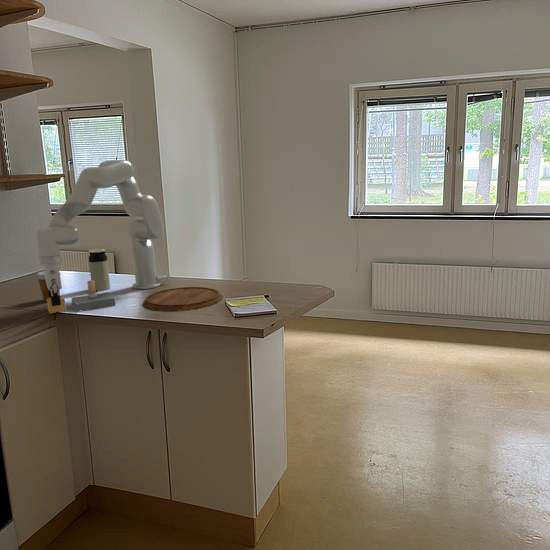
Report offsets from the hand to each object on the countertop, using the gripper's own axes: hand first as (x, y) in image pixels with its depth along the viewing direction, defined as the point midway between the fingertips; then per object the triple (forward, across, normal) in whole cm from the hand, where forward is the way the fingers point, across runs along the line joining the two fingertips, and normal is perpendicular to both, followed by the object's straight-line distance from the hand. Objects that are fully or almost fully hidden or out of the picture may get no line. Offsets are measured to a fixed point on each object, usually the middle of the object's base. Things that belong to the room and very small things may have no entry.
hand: (55, 302), depth 211 cm
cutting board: (+3, -15, -47) cm, 50 cm away
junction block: (+3, 0, -14) cm, 15 cm away
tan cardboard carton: (+3, 0, 0) cm, 3 cm away
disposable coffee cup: (+3, +21, 0) cm, 21 cm away
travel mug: (+3, +29, -22) cm, 37 cm away
